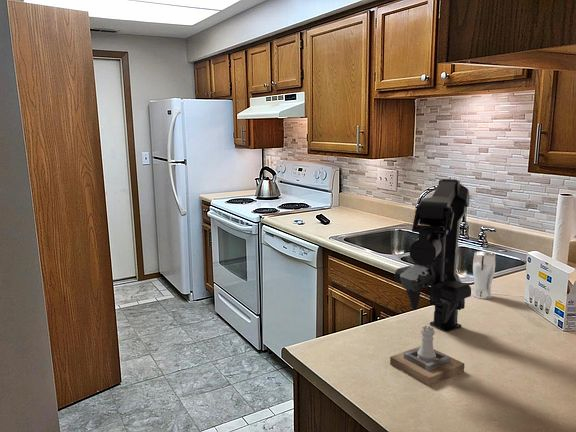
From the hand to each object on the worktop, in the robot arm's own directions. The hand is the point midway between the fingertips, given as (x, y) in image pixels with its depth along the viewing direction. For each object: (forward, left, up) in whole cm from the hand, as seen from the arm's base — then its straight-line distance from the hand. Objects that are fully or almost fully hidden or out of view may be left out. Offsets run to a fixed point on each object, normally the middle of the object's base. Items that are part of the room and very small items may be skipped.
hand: (429, 315), depth 114 cm
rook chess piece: (+3, +3, -10) cm, 11 cm away
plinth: (+3, +3, -12) cm, 12 cm away
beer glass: (-52, -21, -12) cm, 57 cm away
